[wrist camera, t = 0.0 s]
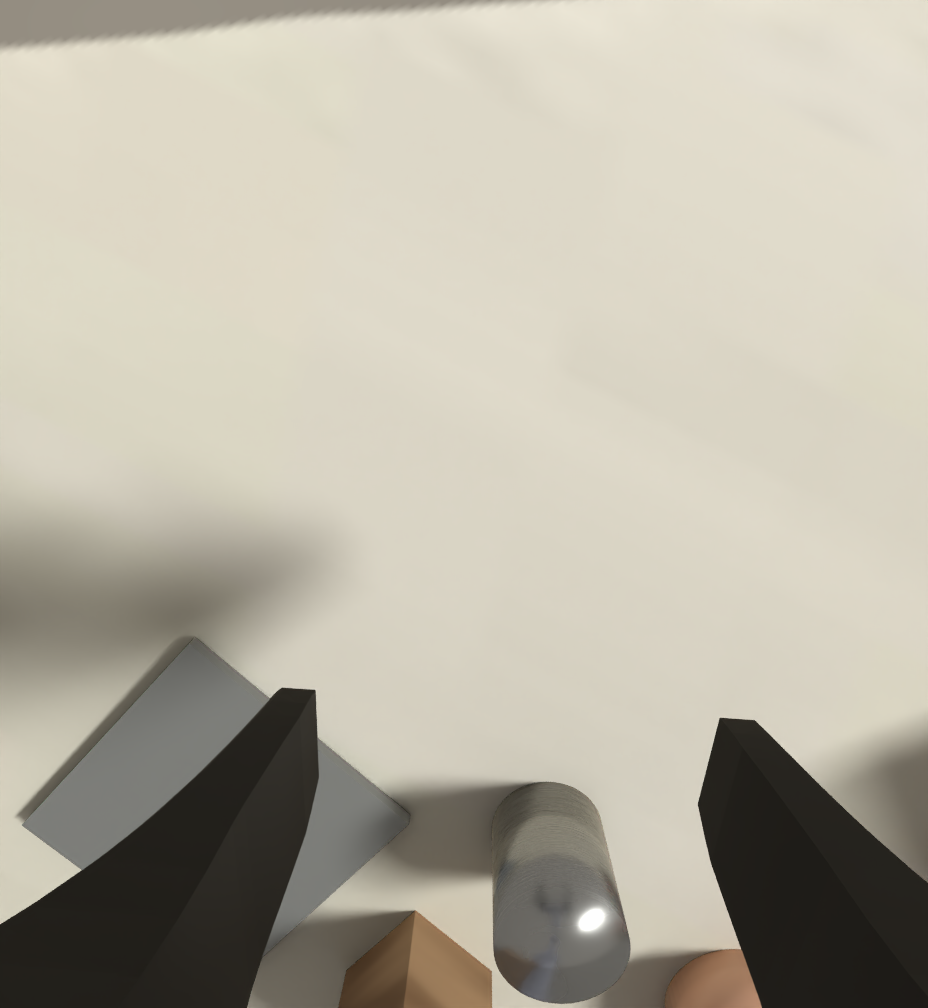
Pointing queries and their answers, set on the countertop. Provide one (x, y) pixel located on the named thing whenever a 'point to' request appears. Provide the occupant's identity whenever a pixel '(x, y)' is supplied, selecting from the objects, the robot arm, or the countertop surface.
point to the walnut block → (417, 972)
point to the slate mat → (187, 751)
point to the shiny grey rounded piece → (555, 896)
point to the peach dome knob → (713, 983)
